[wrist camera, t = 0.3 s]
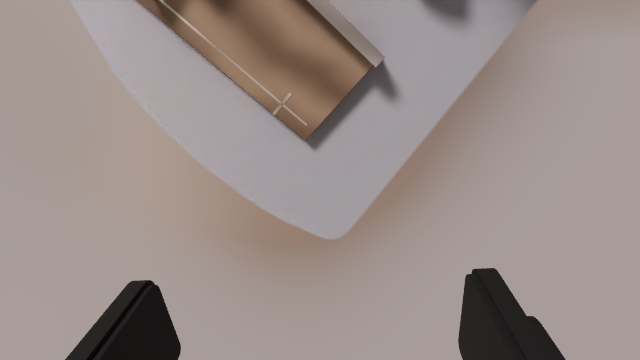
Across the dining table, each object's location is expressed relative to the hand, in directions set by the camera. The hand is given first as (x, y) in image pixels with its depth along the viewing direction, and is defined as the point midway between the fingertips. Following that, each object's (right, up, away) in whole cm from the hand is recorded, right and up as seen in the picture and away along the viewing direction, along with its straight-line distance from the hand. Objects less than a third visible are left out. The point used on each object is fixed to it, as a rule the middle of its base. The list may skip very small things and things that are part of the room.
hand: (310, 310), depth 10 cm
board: (-7, +21, +24) cm, 32 cm away
